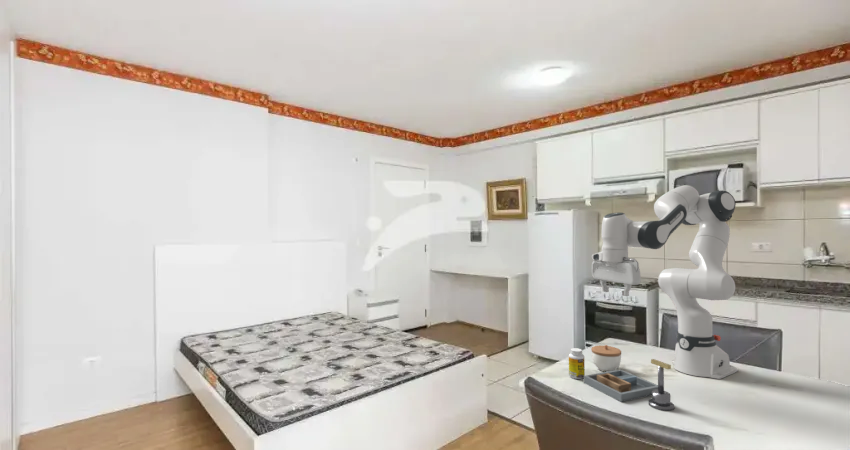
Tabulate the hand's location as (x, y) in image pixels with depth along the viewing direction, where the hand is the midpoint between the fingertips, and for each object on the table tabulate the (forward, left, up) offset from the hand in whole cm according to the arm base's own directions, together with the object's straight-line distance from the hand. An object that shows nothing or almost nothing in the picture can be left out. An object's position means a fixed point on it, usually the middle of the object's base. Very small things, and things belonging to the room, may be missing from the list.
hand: (615, 293), depth 151 cm
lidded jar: (-3, -8, -31) cm, 32 cm away
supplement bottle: (+13, -6, -31) cm, 34 cm away
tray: (+6, +8, -31) cm, 33 cm away
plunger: (+5, +23, -31) cm, 39 cm away
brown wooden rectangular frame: (+6, +8, -31) cm, 32 cm away
